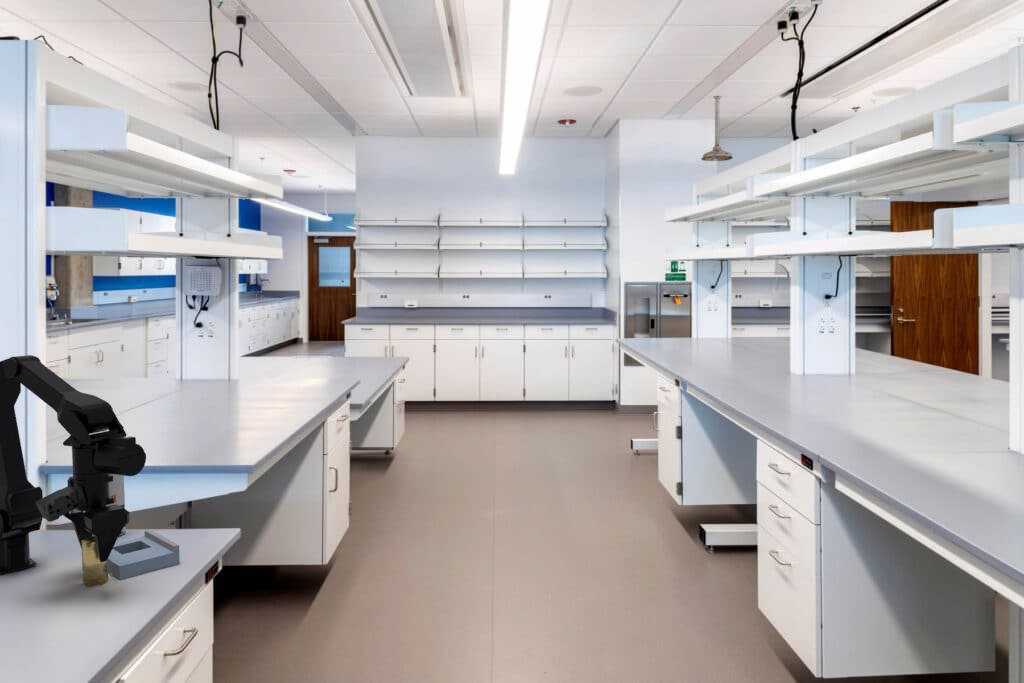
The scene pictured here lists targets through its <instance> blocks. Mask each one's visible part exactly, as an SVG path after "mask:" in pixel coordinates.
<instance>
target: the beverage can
mask: <svg viewBox="0 0 1024 683" xmlns="http://www.w3.org/2000/svg"><path fill="white" fill-rule="evenodd" d="M110 475H112V476H113V481H112V482H109V488H110V496H111V497H113V498H114V504H108V505H106V506H111V505H116V504H117V505H119V506H121V507H123V508H124V509H126V502H125V499H126V498H125V495H126V494H125V476H123V475H115V474H110ZM126 526H127V525H126ZM126 526H125V527H123V529H122V531H121V533H120V535H119V537H120V536H122V535H124V534H125V533H126V532H127V527H126Z"/></svg>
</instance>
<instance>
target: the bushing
mask: <svg viewBox="0 0 1024 683" xmlns="http://www.w3.org/2000/svg"><path fill="white" fill-rule="evenodd" d="M81 547H82V549H81V563H82V564H81V566H82V567H81V568H82V569H81V571H82V586H84V587H88V588H89V587H97V586H98V587H99V586H101V585H104V584H106V583H107V582H108V581H109V577H108V576H109V572H108V568H107V561H105V562H100V560H99V556H98V552H97V547H96V542H95V537H94V535H93V536H92V537H88V538H85V539H83V540H82V541H81V546H80V548H81Z"/></svg>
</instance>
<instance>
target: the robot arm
mask: <svg viewBox="0 0 1024 683" xmlns="http://www.w3.org/2000/svg"><path fill="white" fill-rule="evenodd" d="M22 386H23V387H25V388H26V389H28V390H29V391H30V392H31V393H32V394H34V395H35V397H37V398H39V399H41V401H43V402H44V403H45V404H46V405H47V406H49V407H50V408H51V409H53V410H54V411H55V413H56V417H57V422H58V423H59V424H60V426H61V427H62V428H64V430H65V431H66V432H67V433H68V434H69V437H67V438H66V439H65V440H64V441H63V442H62V445H63V447H64V446H65V447H71V458H72V459H71V462H72V476H69V477H68V479H67V486H65V487H62V488H60V489H57V490H55V491H53V492H52V493H51V492H50V493H49V494H47V495H46V496H43V489H42V487H41V486H36V487H35V486H34V485H33V484H32V483H31V482H30V481H29V480H28V475H27V471H26V466H25V460H24V454H23V448H22V442H21V437H20V432H19V431H20V430H19V427H18V420H17V415H16V409H15V405H16V403H17V401H18V400H19V396H20V394H21V392H22ZM127 435H128V434H127V432H126V431H125V429H124V426H123V425H122V424H121V422H120V420H119V418H118V417H117V415H116V413H115V411H114V409H113V407H112V405H111V404H110V403H109V402H108V401H107V400H105V399H102V398H100V397H98V396H97V395H93V394H90V393H89V394H88V393H86V392H81V391H79V390H77V389H76V388H75V387H74V386H72V385H71V384H70V383H68V382H67V381H65V380H64V379H63V378H62V377H60V376H59V375H58V374H56V373H55V372H53V371H52V370H51V369H49V368H48V367H47V366H46V365H44V364H43V363H42V362H41V359H40V358H39V357H38V356H36V355H31V354H29V355H17V356H10V357H9V358H6V359H3V360H1V361H0V575H1V574H6V573H11V572H14V571H18V570H23V569H26V568H31V567H35V566H37V562H36V561H35V560H33V559H32V558H31V553H30V533H32V532H36V531H40V529H41V526H42V522H43V519H45V520H46V521H47V522H48V523H51V522H55V521H57V520H59V519H60V517H62V516H63V517H64V518H66V519H68V520H69V521H70V522H71V523H72V526H73V528H74V532H75V534H76V537H77V541H78V543H79V547H80V549H81V550H82V547H81V541H82V540H83V539H85V538H88V537H92V536H94V537H95V542H96V547H97V552H98V556H99V560H100V562H105V561H107V560H108V558H109V555H110V553H111V551H112V549H113V547H114V545H115V543H117V540H118V539H119V537H120V536H121V535H120V533H121V531H122V529H123V527H125V526H127V524H129V523H130V520H131V519H130V511H129V510H127V509H126V508H125V509H124V508H123V507H121V506H119V505H117V504H116V505H111V506H106V505H108V504H114V498H113V497H111V496H110V488H109V482H112V481H113V476H112V475H110V474H115V475H123V476H124V477H135V476H137V475H138V474H140V473H141V471H142V470H143V469H144V467H145V464H146V462H147V453H146V452H145V449H144V448H143V446H141V445H140V444H138V443H137V438H136V436H127ZM119 535H120V536H119Z"/></svg>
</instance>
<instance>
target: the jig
mask: <svg viewBox="0 0 1024 683" xmlns="http://www.w3.org/2000/svg"><path fill="white" fill-rule="evenodd" d="M143 532H144V533H143V534H144V535H143V536H139V537H135V538H132V539H127V540H124V541H123V540H122V541H120V542H116V543H115V545H114V547H113V549H112V551H111V553H110V555H109V558H108V560H107V568H108V573H110V574H111V575H113V576H114V577H116V578H117V579H118V580H123V579H127V578H131V577H135V576H138V575H143V574H146V573H149V572H154V571H157V570H161V569H165V568H169V567H172V566H176V565H180V564H181V562H180V560H181V558H180V544H178V543H177V542H175V541H172V540H170V539H169V538H168V537H167V538H166V537H165V536H162V535H160V534H159V533H158V532H155V531H153V530H151V529H144V531H143Z"/></svg>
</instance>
